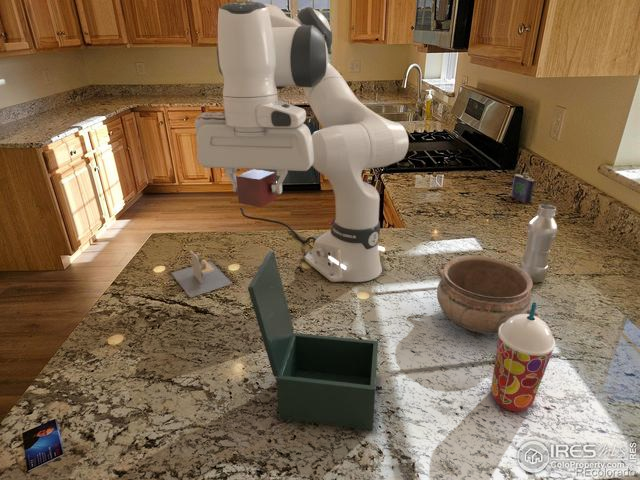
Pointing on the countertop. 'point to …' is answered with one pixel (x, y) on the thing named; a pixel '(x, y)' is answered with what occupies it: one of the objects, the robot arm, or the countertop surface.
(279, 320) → the bin lid
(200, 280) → the architectural model
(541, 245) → the plastic bottle
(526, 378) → the smoothie
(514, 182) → the flask
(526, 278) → the cooking pot
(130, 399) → the countertop surface
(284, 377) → the bin
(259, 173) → the block
